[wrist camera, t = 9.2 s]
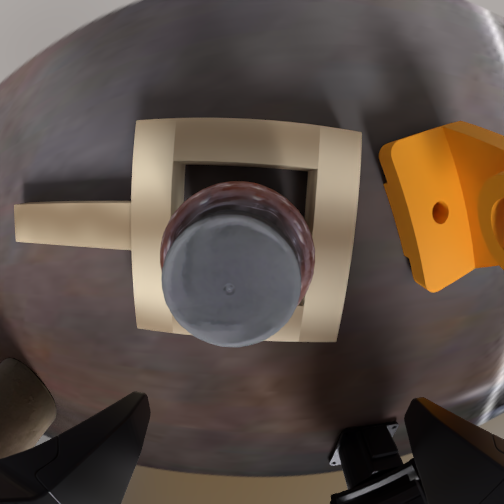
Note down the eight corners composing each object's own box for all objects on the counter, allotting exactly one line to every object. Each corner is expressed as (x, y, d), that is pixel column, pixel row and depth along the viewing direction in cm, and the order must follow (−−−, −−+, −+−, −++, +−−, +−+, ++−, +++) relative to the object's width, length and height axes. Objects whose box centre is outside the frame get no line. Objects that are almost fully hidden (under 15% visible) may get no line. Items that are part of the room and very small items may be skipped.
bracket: (369, 149, 17) (495, 119, 6) (441, 125, 17) (558, 102, 5) (410, 284, 20) (512, 364, 8) (472, 249, 19) (575, 294, 7)
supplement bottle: (299, 258, 19) (352, 348, 8) (216, 283, 20) (176, 391, 9) (274, 172, 18) (306, 151, 7) (187, 199, 18) (100, 221, 7)
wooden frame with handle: (325, 321, 20) (336, 341, 17) (37, 291, 20) (17, 302, 17) (346, 139, 17) (361, 132, 14) (31, 144, 17) (8, 142, 14)
